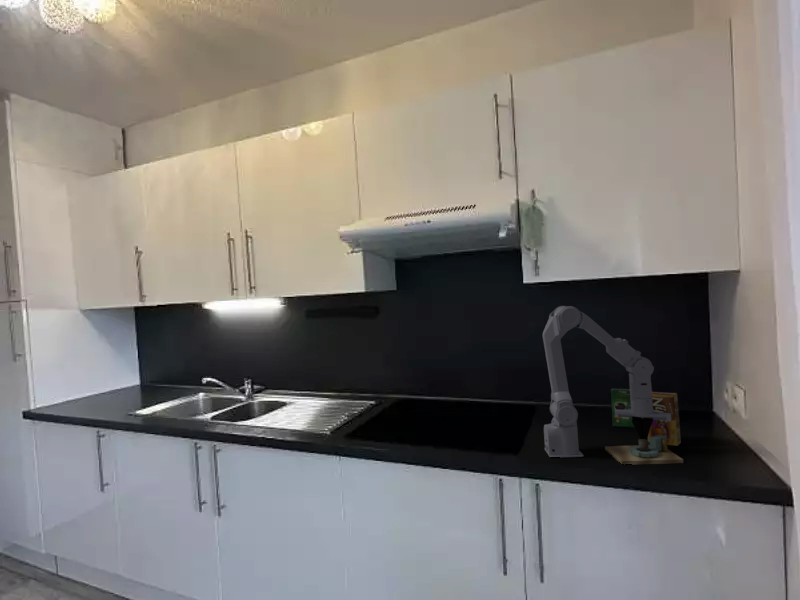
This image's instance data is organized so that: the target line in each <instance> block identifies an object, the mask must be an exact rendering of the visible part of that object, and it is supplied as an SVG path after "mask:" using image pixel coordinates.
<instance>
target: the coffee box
mask: <svg viewBox="0 0 800 600" xmlns="http://www.w3.org/2000/svg"><path fill="white" fill-rule="evenodd" d="M610 393H611V395H610V396H611V397H610V398H611V417H612V427H621V428H631V429H632V428H633V429H636V428H635V427H634V425H633V423H632V418H627V417H615V410H616V409H618V410H631V399H630V388H611V389H610Z"/></svg>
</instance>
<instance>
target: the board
mask: <svg viewBox="0 0 800 600" xmlns="http://www.w3.org/2000/svg"><path fill="white" fill-rule="evenodd" d="M634 446H639V451H641V452H649V447H650V444H649V442H648V440H647V439H640V438H638V445H635V444H634V445H612V446H611V445H609V446H604V449H605V452H607V453H608V454H609V455H610V456H611V455H612V456H611V457H612V458H614V459H615V460H616V461H617V462H618V463H619V462H620V463H621V464H624V465H623V466H625V464H632V465H631V466H633V465H635V466H636V465H665V464H684V458H682V457H680V456H679V455H678V454H676V453H674V452H672V451H671V450H670V449H668V445H667V439H662V448H663V450H662V451H658V456H655V457H641V456H636V455H632V454H631V451H630V448H631V447H634ZM620 463H619V464H620ZM621 464H620V465H621Z"/></svg>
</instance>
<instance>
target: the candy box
mask: <svg viewBox="0 0 800 600" xmlns="http://www.w3.org/2000/svg"><path fill="white" fill-rule="evenodd" d="M678 400H679V399H678V393H677V392H661V391H652V402H653V411H656V412H663V413H671V422H669V421H665V420H653V423H652V425H651V427H650V430H649V434H648V443H649V437H652V436H656V435H664V436H666V437H667V446H677V447H678V446H680V444H681V443H682V440H681V438H682V437H681V426H680V411H679V401H678Z"/></svg>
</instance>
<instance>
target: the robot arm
mask: <svg viewBox="0 0 800 600" xmlns="http://www.w3.org/2000/svg"><path fill="white" fill-rule="evenodd" d="M574 328H577V329H582V330H584V331H585V332H587V333H588V334H589V335H591V336H592V337H593V338H594V339H596V340H597V341H599V342H600V343H601V344H602V345H604V346H605V352H606V354H608V355H609V357H612V358H613V359H614V360H615V361H617V362H618V363H619V364H620V365H621V366H622V367H624V369H625V370H626V372H629V373H628V379H629V380H628V382H629V385H628V386H629V389H630V399H631V410H618V409H616V410H615V417H627V418H632V423H633V425H634V427H635V428H634V429H635V430H636V432H637V434H638V437H639V439H647V440H648V434H649V430H650V427H651V425H652V423H653V420H665V421H669V422H671V413H663V412H656V411H653V402H652V392H653V388H652V381H651V380H652V377H651V375H652V374H653V372H654V371H655V370H654V369H655V367H654V366H653V363H652V362H651V360H650V359H649V358H646V357H643V356H642V355H641V354H642V352H641V351H639V350H636V349H634V348H633V347H632V346H631V345H630V344H629V341H628V340H627V339H625V338H623V339H622V338H621V337H616V338H615V337H613V336H612V335H610V334H609V333H608V331H606V330H605V329H604V328H602V326H600V325H599V324H598V323H597V322H595V321H594V320H593V319H592V318H591V317H590V316H588V315H587V314H586V313H584V312H582V311H580V310H579V309H578V308H577V307H575V306H572V305H569V306H568V305H567V306H566V305H559V306H558V307H556V308H555V309H554V310H553V311H552V312H550V313H549V316H548V320H547V323H546V324H545V327H544V329H543V332H542V341H543V347H544V352H545V359H546V363H547V364H546V365H547V366H546V367H547V371H548V377H549V383H550V388H551V393H550V400H551V401H550V405H549V412H550V414H551V416H553V417H552V419H551V423H547V424H544V425H543V437H544V438H543V439H544V451H545V452H546V454H547V455H548V456H549V458H550V457H560V458H581V457H582V458H583V457H584V454H583V453H582V452H581V451H580V450H579V447H580V446H579V436H578V434H579V432H578V418H579V412H578V410H577V409H576V407H575V406H574V404H573V398H572V396H571V394H570V393H571V392H570V391H569V384H568V378H567V373H566V365H565V359H564V355H563V354H564V353H563V348H562V343H561V342H562V341H561V339H562V338H563V337H564V335H566V334H567V332H568V331H570V330H572V329H574Z"/></svg>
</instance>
